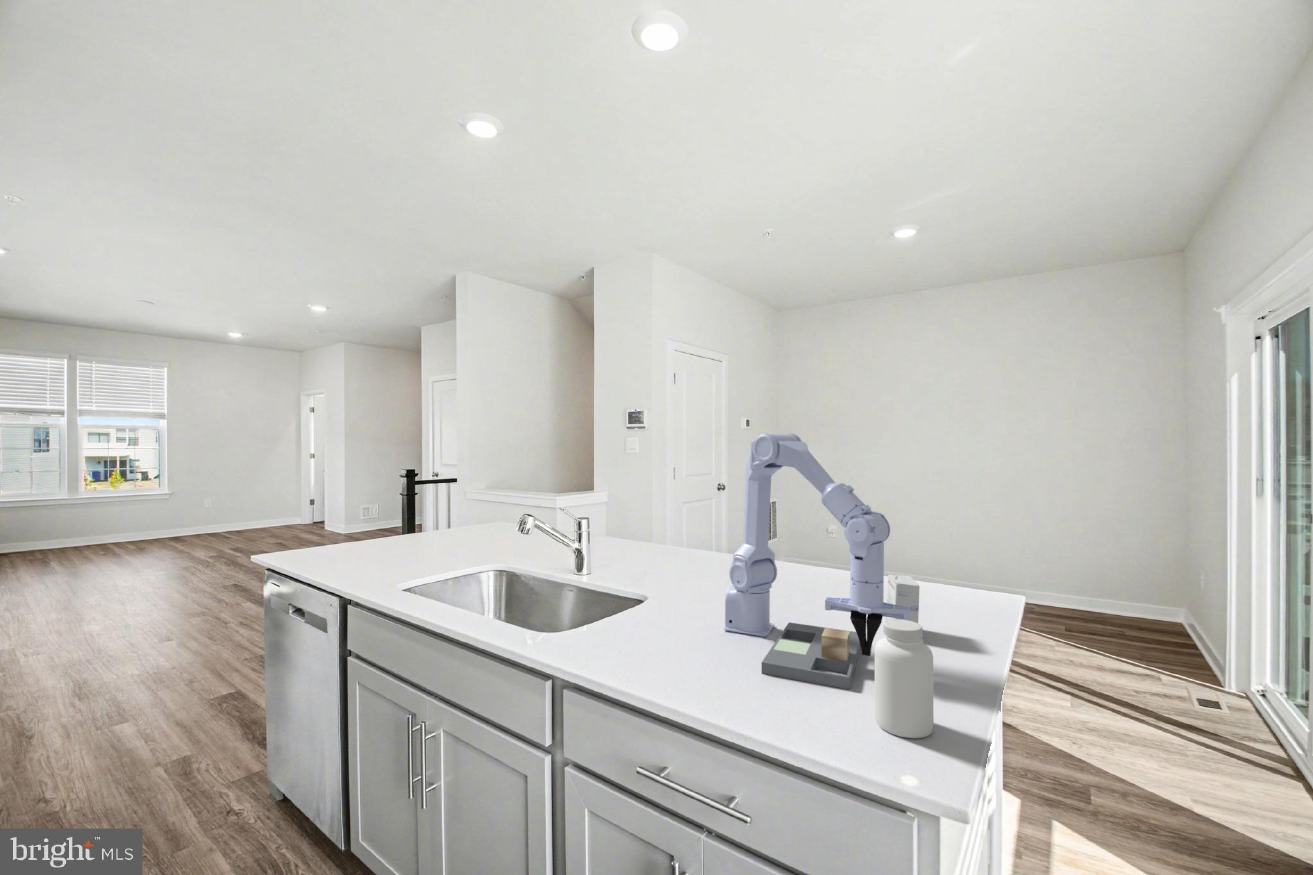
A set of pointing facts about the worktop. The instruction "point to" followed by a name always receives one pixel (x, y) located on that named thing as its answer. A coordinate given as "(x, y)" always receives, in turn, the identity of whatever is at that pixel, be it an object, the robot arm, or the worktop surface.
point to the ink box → (903, 594)
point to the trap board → (809, 657)
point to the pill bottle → (904, 680)
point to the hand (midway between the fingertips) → (866, 653)
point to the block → (835, 644)
